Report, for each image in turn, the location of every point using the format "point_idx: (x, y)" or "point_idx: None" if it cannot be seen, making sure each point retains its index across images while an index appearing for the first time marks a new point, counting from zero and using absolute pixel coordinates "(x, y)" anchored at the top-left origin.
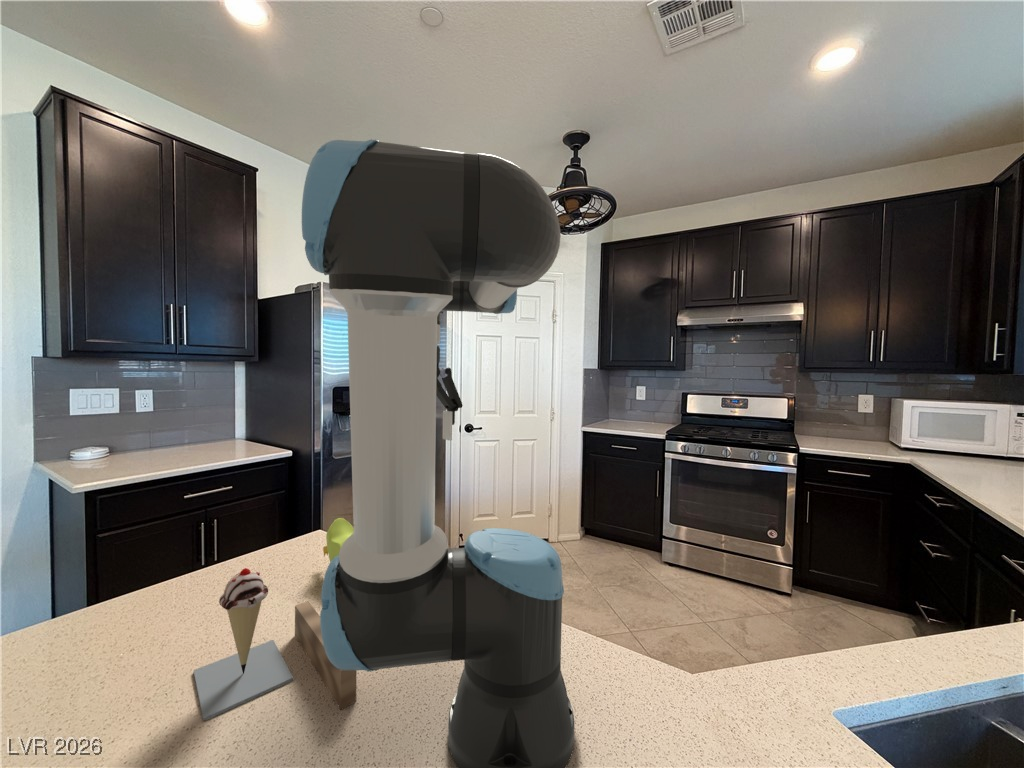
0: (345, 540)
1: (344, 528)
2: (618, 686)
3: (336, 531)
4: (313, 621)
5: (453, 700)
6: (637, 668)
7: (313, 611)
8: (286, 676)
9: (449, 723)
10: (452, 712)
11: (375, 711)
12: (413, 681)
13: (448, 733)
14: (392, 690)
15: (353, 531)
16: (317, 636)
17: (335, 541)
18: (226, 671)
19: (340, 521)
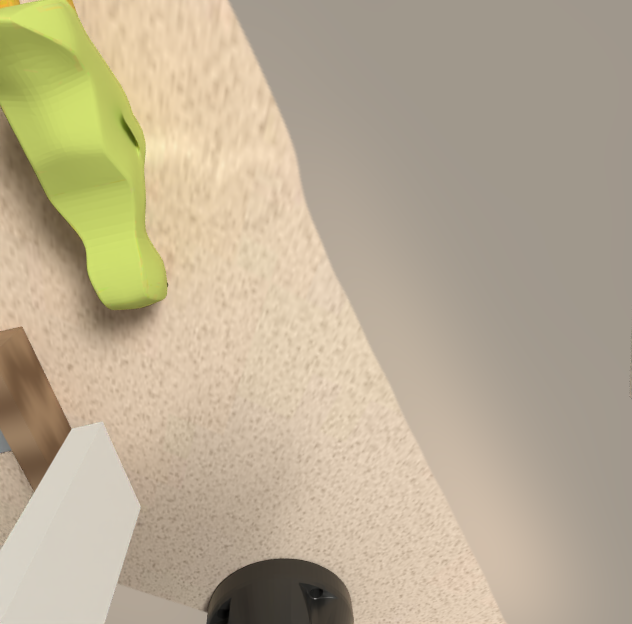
0: (49, 152)
1: (34, 67)
2: (433, 608)
3: (3, 76)
4: (15, 435)
5: (222, 605)
6: (480, 597)
7: (10, 402)
8: (4, 442)
9: (208, 622)
10: (214, 617)
11: (137, 537)
12: (195, 513)
13: (209, 607)
14: (163, 516)
15: (79, 67)
16: (29, 479)
17: (14, 125)
18: None
19: (3, 37)
